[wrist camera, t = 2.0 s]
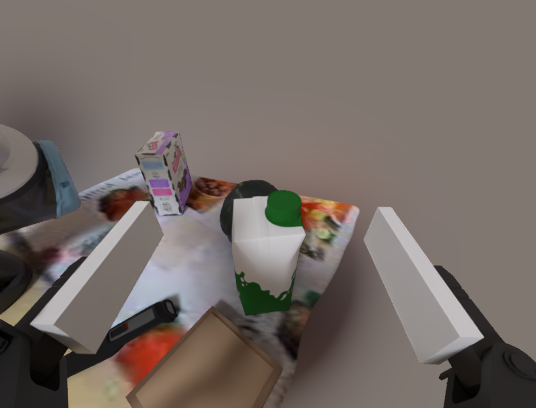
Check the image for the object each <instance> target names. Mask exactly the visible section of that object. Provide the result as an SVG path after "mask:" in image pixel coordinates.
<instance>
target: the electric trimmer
mask: <svg viewBox="0 0 536 408" xmlns="http://www.w3.org/2000/svg"><path fill="white" fill-rule="evenodd" d="M176 317H177V314H176V311H175V308H174V305H173V303H172V301H170V300H164V301H162V302H157V303H155V304H153V305H151V306H149V307H147V308H146V309H144V310H142V311H140V312H139V313H137V314H135V315H134V316H132V317H130V318H128V319H127V320H125V321H123V322H121V323H120V324H118V325H116V326H115V327H113V328H111V329H110V330H109V331H108V333H107V335H106V336H105V338H104V340H103V342H102V343H101V345H100V347H99V349H98V350H97V352H96V354H80V353H75V352H74V351H72V352H70V353H69V354H67V355H65V358H66V363H67V378H68V377H70V376H72V375H75V374H77V373H79V372H81V371H83V370H85V369H87V368H89V367H91V366H94V365H96V364H98V363H100V362H102V361H104V360H106V359H108V358H110V357H112V356H113V355H114V354H115V353H116V351H117V350H118V349H119V348H120V347H121V346H122V345H124V344H126V343H128V342H129V341H131V340H133V339H135V338H136V337H138V336H140V335H142V334H143V333H145V332H147V331H149V330H150V329H152V328H154V327H156V326H157V325H159V324H161V323H170V322H172V321H173V320H174V318H176Z"/></svg>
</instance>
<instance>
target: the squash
mask: <svg viewBox="0 0 536 408" xmlns="http://www.w3.org/2000/svg"><path fill="white" fill-rule="evenodd" d="M275 191H279V190H277V189H276V188H275V187H274V186H273V185H271V184H270V183H268V182H266V181H263V180H250V181H245V182H242V183H239V184H238V185H237V186H236V187H235V188H234V189H233V190H232V191H231V192H230V193H229V194H228V196H227V197H226V198H225V200H224V203H223V207H222V210H221V214H220V224H221V228H222V231H223V232H224V233H225V234H226V235H227V236H228V238H229V240H230V242H231V243H232V222H233V206H234V199H245V198H253V197H257V196H261V197H265V196H269V195H270V194H271V193H273V192H275Z"/></svg>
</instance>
